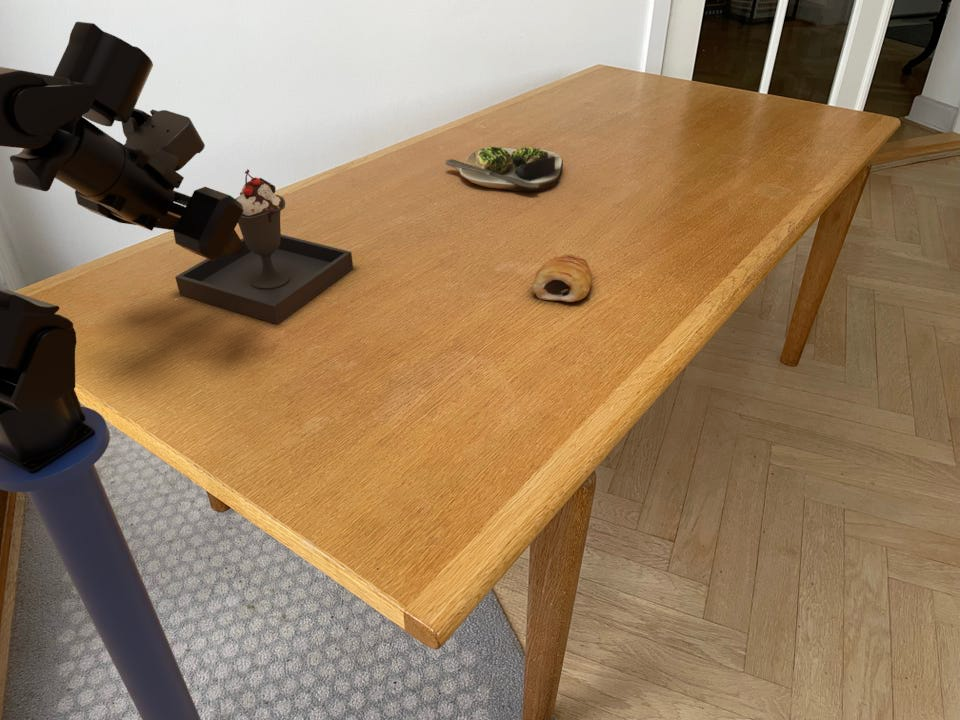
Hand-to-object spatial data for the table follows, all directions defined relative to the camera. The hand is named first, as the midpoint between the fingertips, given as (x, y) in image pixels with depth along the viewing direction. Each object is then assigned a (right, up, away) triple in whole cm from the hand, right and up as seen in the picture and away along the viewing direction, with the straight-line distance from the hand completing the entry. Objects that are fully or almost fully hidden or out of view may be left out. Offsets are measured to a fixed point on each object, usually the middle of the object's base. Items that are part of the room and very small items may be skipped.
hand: (210, 237), depth 80 cm
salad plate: (+35, +18, +42) cm, 58 cm away
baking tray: (+3, -3, +12) cm, 13 cm away
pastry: (+40, -5, +11) cm, 42 cm away
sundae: (+3, -3, +12) cm, 13 cm away
